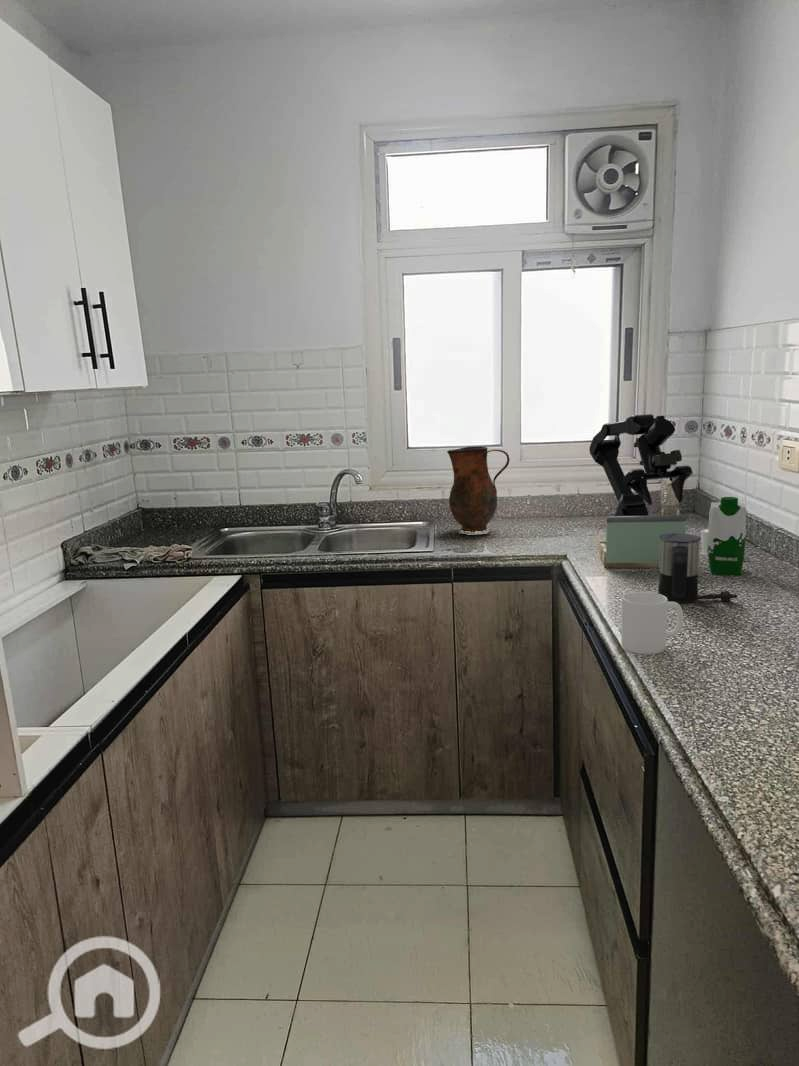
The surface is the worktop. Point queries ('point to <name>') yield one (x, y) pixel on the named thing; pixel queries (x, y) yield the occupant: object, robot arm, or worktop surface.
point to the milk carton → (726, 536)
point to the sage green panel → (639, 537)
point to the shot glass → (704, 541)
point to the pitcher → (473, 488)
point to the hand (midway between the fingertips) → (665, 503)
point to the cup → (647, 622)
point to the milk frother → (682, 569)
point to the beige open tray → (623, 565)
